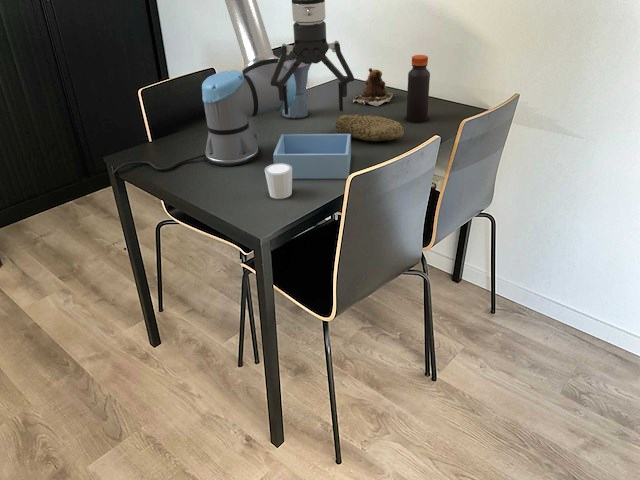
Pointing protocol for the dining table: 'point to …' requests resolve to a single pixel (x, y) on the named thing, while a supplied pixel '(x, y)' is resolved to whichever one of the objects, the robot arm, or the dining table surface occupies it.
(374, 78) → the bear figurine
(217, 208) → the dining table surface
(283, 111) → the moka pot
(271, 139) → the dining table surface
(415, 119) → the bottle
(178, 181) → the dining table surface
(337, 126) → the sponge
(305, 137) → the open storage box
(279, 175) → the shot glass
